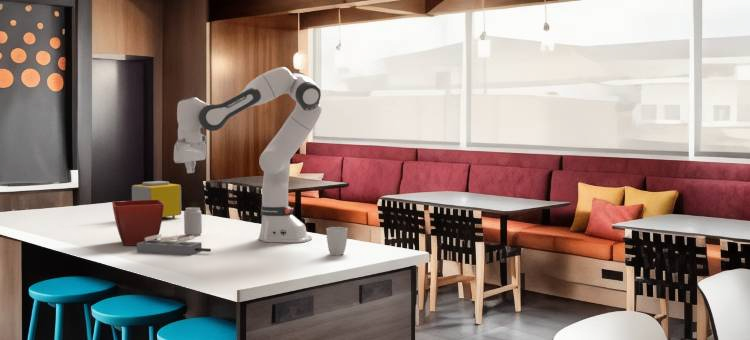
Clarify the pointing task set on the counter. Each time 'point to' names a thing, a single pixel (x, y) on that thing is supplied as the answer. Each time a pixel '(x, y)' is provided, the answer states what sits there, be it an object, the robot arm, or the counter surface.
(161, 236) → the rocker
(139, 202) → the plant pot
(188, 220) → the can
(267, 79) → the robot arm
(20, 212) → the counter surface
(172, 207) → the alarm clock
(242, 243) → the counter surface
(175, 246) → the rocker switch panel
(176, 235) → the rocker
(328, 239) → the cup
